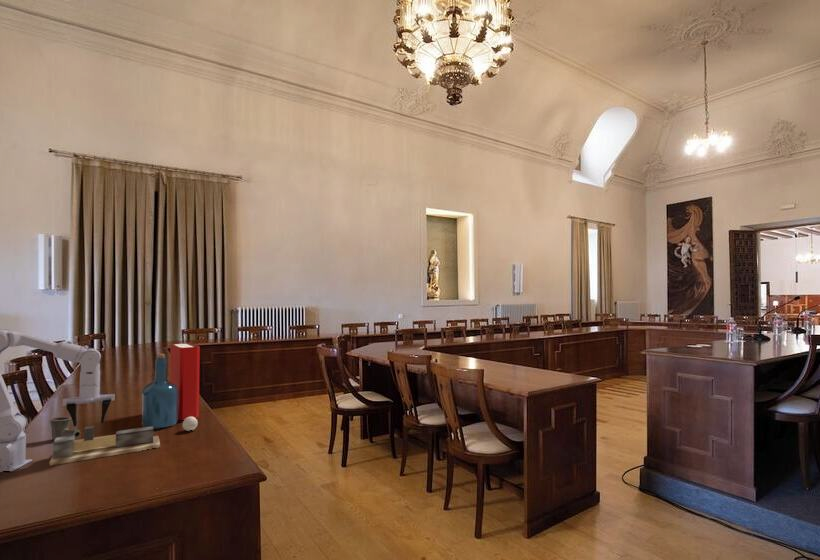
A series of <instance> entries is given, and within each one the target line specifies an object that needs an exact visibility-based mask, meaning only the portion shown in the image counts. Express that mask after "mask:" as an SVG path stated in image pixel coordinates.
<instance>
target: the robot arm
mask: <svg viewBox="0 0 820 560" xmlns="http://www.w3.org/2000/svg"><path fill="white" fill-rule="evenodd" d="M20 346H24V347H30V348H33V349H38V350H41V351H46V352H50V353H52V354H53V356H54V358H57V359H61V360H64V361H68V362H71V363H74V364H77V363H79V365H80V372H79V391H78V392H79V395H78V397H71V398H70V397H69V398H64V399H62V407H64V406H66V410H67V412H68V413H69V415H70V416H69V417H71V421H72V424H73V425H72V426H73V427H76V426H77V423H78V418H77V410H78V405H80V404H91V403H98V402H99V403H100V402H101V418H100V423H101V424H102V423H104V422H105V417H106V413H107V411H108V409H109V407H110V405H111V402H112V401H115V399H116V398H115V397H116V396H115V393H113V394H111V393H109V394H101V393H100V390H101V387H100V386H101V364H100V361H101V359H102V354H101V353H100V350H99V351H98V349H95V348H93V347H92V348H91V347H90V348H89V346H87V345H85V346H83V345H78V344H75V343H73V341H71V340H68V341H65V340H63V341H60V342H54V341H50V340H48V339H45V338H41V337H38V336H36V335H32V334H29V333H27V332H22V331H17V330H10V329H7V328H0V355H2V353H3V352H4V351H5V350H7V349H8V348H12V347H13V348H14V347H20ZM13 401H14V400H13V399H12V397H11V393H10V392H9V389H8V387H7V385H6V383H5V380H4V377H3V376H2V373H1V372H0V471H10V472H15V471H16V470H18V469H20V468H22V467H24V466H25V465H28V464H29V463H30V462H33V459H27V458H26V453H27V451H26V450H27V449H26V448H27V433H25V431H24V429H26V427H27V426H28V419H27V418H26V417H25V416H24V415H23V414H21V413H20V410H19V409H18V408H17V407H16V406H15V404H14V402H13ZM10 472H9V473H10Z"/></svg>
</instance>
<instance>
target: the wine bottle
mask: <svg viewBox="0 0 820 560" xmlns="http://www.w3.org/2000/svg"><path fill="white" fill-rule="evenodd" d="M154 365H155V372H154V374H155V375H154V380H152V381H151V382H149V383H148V384H146V385H145V386H144V387H143V388H142V390H141V394H142V405H141V407H142V409H141V411H142V412H141V413H142V414H141V421H142V422H141V425H142V428H143V427H150V426H153V429H154V430H159V429H160V428H161V429H166V427H167V428H170V427H172V426H175V425H177V424H178V421H179V420H178V389H177V387H176V386H175V385H174V384H173V383H170V381H168V377H167V365H168V362H167V356H166V355H165V353H159V354H158V355H157V357H156V359H155V364H154ZM169 426H170V427H169Z"/></svg>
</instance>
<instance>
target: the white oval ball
mask: <svg viewBox="0 0 820 560" xmlns="http://www.w3.org/2000/svg"><path fill="white" fill-rule="evenodd" d="M199 423H200V421H199V422H198V419H196V418H195V417H192V416H191V417H187V418H186V419H185V420H184V421H182V424H181V425H182V428H183V430H184V431H187V432H191V431H190V430H192V431H194V430H195V429H196V428H197V427H198V424H199Z"/></svg>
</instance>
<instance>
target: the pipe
mask: <svg viewBox="0 0 820 560" xmlns="http://www.w3.org/2000/svg"><path fill="white" fill-rule="evenodd" d="M71 421H72V418H71V416H58V417H52V418H50V419H49V422H50V427H51V439H52V440H53V441H55V439H56V437H63V436H71V435H75V440H80V439H81V437H82V433H81V431H80V430H78V429H70V426H71Z"/></svg>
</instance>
